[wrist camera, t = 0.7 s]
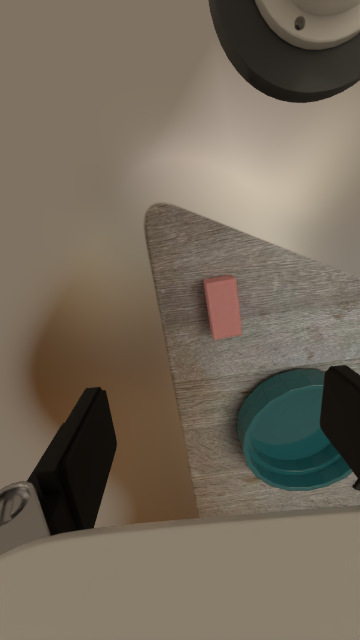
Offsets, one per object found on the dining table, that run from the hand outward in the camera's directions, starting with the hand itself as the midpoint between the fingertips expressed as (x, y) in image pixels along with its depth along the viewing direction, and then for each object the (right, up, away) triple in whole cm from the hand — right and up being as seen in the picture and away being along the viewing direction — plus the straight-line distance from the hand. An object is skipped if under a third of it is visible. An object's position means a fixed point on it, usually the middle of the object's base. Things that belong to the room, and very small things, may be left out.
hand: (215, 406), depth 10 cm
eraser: (+3, +5, +17) cm, 18 cm away
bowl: (+13, -9, +21) cm, 27 cm away
